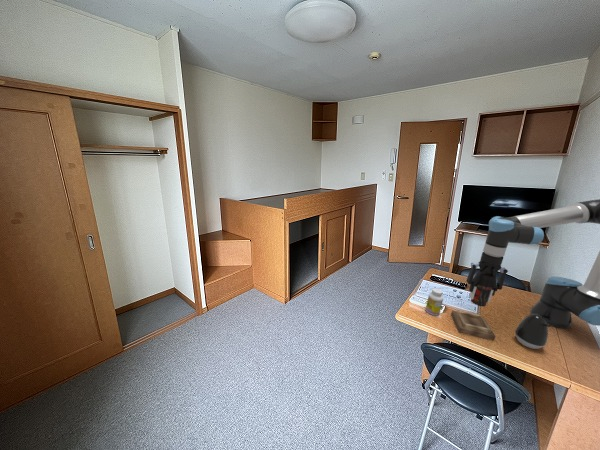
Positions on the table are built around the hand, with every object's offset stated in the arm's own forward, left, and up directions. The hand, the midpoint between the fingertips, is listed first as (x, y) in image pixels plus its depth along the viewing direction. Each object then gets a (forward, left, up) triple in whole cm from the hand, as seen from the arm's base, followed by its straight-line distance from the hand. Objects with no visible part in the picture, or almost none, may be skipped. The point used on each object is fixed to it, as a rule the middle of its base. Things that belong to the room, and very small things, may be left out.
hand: (479, 299), depth 114 cm
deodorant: (0, 0, -2) cm, 2 cm away
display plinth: (0, 0, -15) cm, 15 cm away
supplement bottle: (+16, -6, -16) cm, 23 cm away
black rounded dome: (-21, +4, -16) cm, 27 cm away
